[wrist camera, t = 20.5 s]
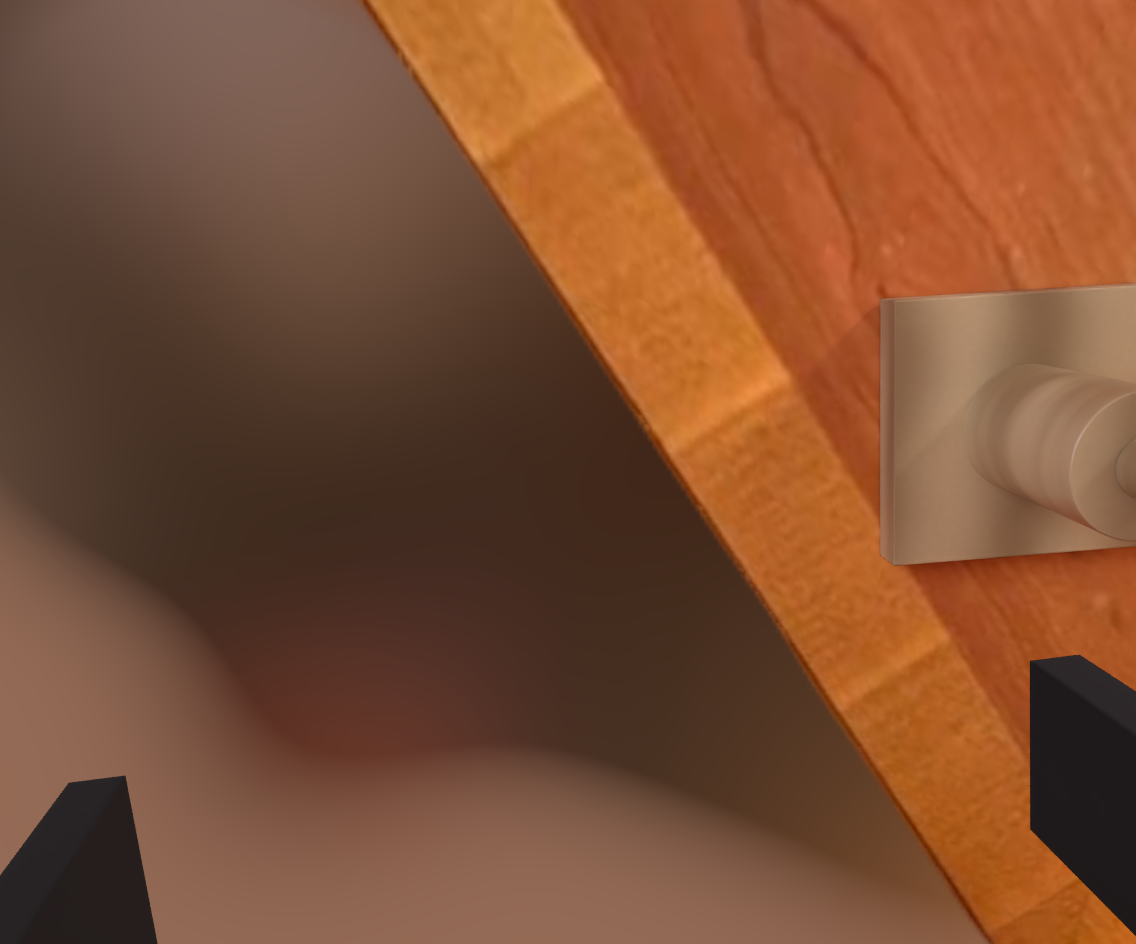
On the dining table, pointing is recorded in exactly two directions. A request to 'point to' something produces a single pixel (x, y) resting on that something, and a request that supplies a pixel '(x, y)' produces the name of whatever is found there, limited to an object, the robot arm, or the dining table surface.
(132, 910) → the robot arm
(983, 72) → the dining table surface
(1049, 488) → the dowel stand
